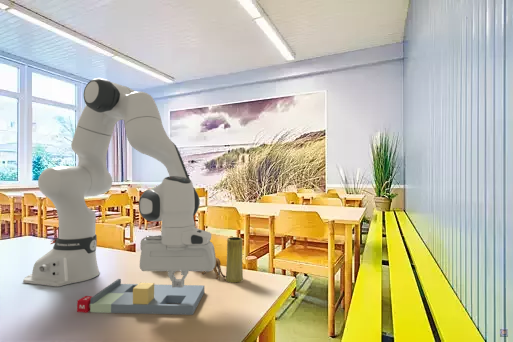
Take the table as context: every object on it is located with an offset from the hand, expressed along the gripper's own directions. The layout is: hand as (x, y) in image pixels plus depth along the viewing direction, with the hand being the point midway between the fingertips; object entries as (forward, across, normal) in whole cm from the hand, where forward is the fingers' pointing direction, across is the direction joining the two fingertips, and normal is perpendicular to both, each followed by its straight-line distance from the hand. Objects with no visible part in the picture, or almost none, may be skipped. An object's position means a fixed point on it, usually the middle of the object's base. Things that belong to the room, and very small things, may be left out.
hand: (178, 286), depth 77 cm
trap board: (+6, -9, +4) cm, 11 cm away
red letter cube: (+6, -24, -2) cm, 25 cm away
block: (+3, -9, -1) cm, 10 cm away
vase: (+6, +13, +22) cm, 26 cm away
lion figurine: (+6, +3, +27) cm, 27 cm away
